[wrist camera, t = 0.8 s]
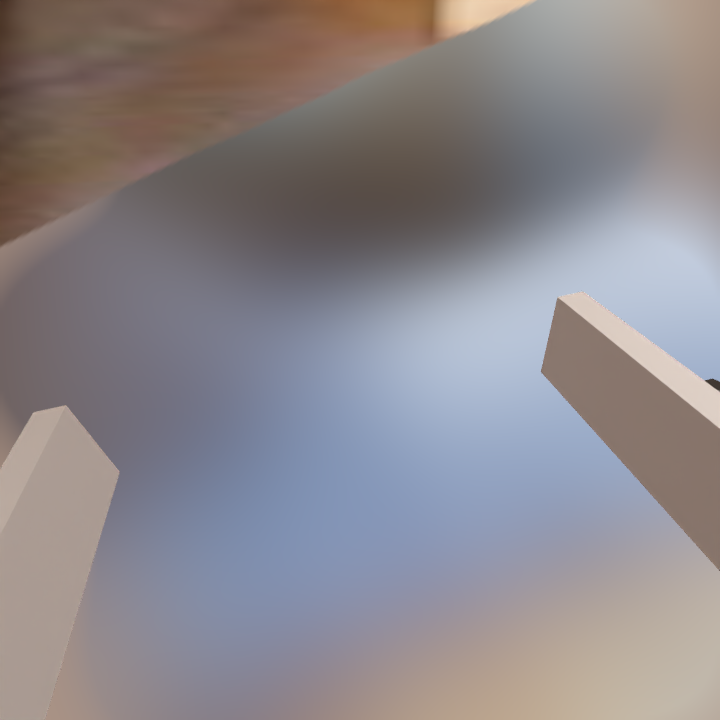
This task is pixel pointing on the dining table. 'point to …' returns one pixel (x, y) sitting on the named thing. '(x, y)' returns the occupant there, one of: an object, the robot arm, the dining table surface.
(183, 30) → the dining table surface
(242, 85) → the dining table surface
